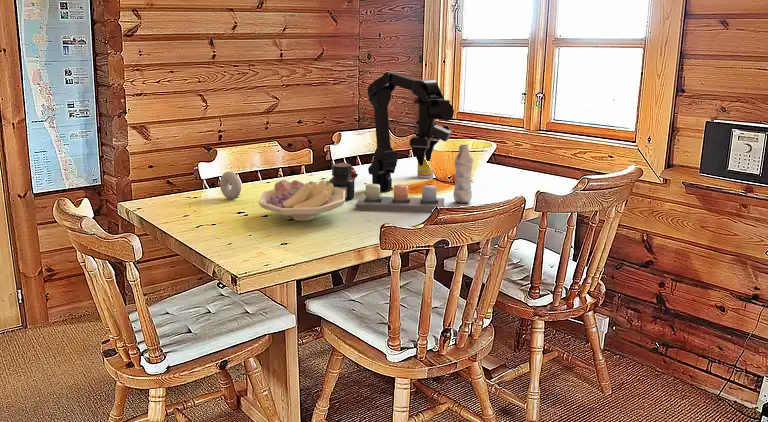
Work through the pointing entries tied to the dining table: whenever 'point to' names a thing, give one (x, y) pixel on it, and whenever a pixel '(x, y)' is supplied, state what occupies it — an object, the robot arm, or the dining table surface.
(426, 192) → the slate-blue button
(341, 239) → the dining table surface
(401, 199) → the terracotta button
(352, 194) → the ink bottle
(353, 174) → the dragon fruit
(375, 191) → the sage button
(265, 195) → the dish with food
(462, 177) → the plastic bottle
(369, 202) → the button panel
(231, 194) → the donut
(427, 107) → the robot arm
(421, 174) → the supplement bottle
